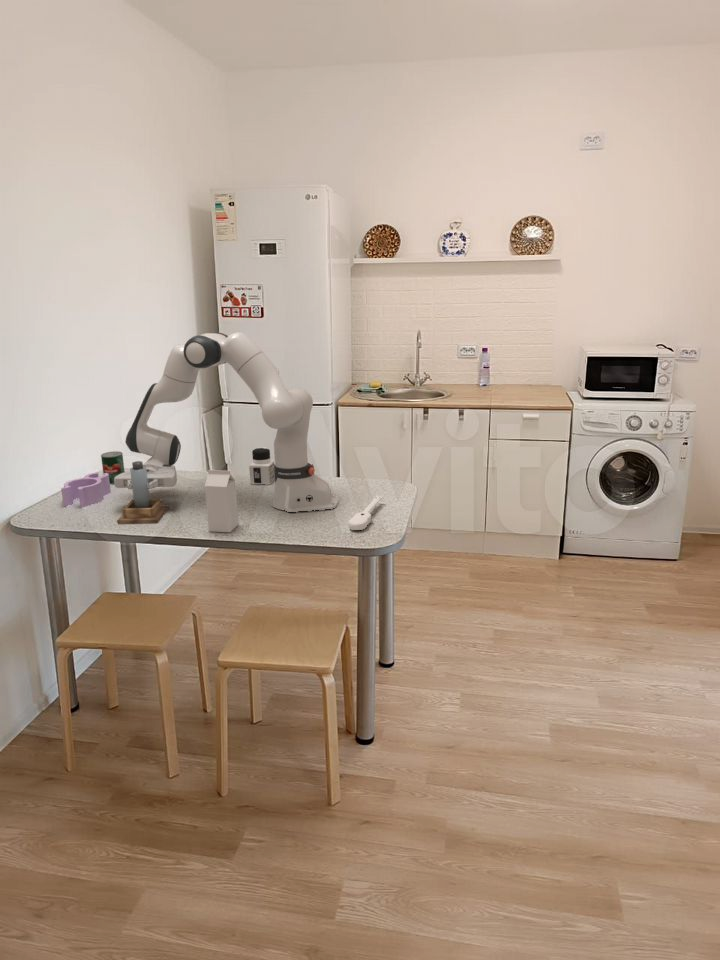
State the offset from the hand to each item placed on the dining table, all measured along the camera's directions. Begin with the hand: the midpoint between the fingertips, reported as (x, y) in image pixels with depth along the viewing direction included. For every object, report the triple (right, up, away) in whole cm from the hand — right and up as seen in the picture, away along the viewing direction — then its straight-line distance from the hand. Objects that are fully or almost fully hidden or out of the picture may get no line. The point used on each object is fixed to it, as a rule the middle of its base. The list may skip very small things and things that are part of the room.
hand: (139, 486), depth 233 cm
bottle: (0, -7, +3) cm, 8 cm away
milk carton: (+29, -13, -9) cm, 33 cm away
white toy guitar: (+75, -10, -2) cm, 75 cm away
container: (+35, +1, +38) cm, 52 cm away
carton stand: (0, -10, +4) cm, 11 cm away
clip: (-25, -5, +24) cm, 35 cm away
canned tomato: (-23, +1, +43) cm, 49 cm away
